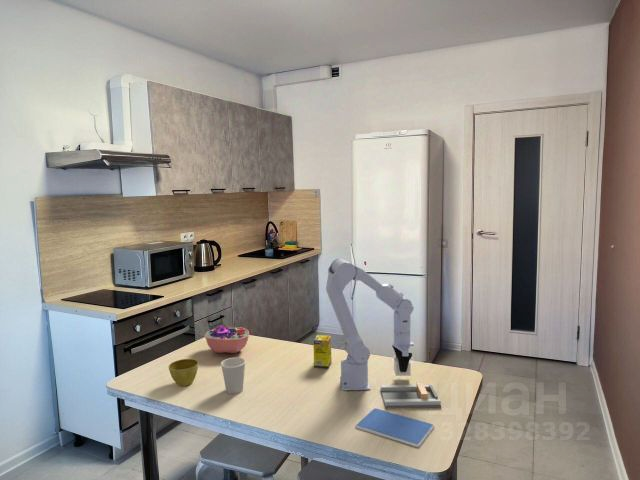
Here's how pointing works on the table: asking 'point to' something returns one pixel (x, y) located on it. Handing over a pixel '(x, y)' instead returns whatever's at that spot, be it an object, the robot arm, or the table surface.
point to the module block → (397, 370)
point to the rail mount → (408, 397)
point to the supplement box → (322, 351)
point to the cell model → (227, 339)
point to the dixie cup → (233, 374)
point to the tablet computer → (395, 427)
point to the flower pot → (183, 371)
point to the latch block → (421, 391)
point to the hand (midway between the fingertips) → (401, 368)
